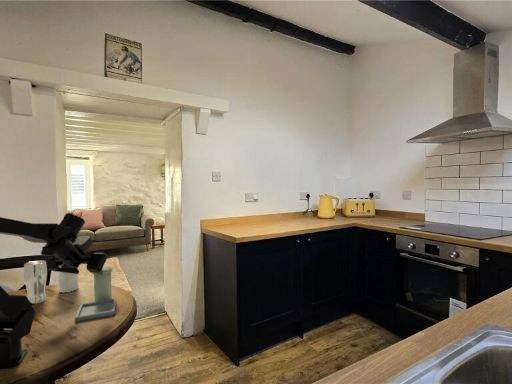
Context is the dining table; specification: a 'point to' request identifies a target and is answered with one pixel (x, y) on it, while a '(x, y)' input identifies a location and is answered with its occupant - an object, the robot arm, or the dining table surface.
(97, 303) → the tray
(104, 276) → the sage green mushroom knob
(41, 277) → the beer glass
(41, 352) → the dining table surface
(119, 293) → the dining table surface
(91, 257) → the robot arm
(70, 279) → the white milk bottle
